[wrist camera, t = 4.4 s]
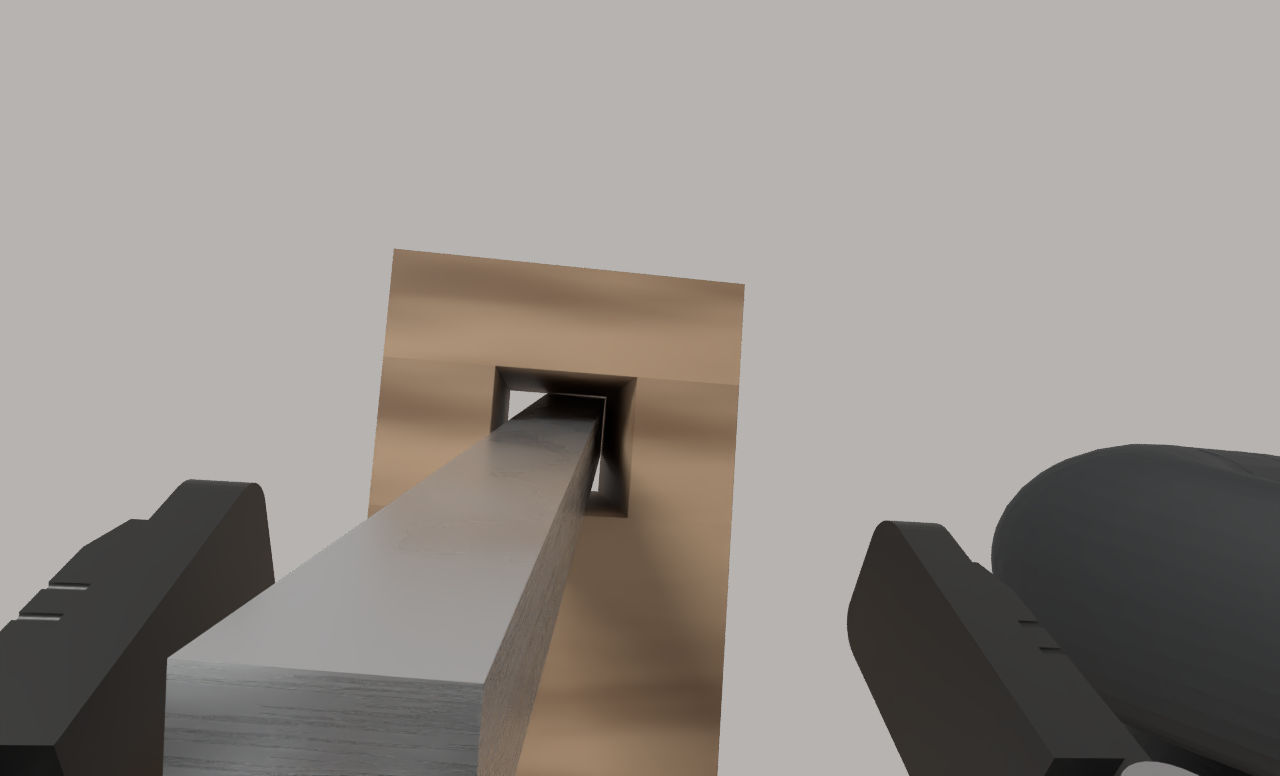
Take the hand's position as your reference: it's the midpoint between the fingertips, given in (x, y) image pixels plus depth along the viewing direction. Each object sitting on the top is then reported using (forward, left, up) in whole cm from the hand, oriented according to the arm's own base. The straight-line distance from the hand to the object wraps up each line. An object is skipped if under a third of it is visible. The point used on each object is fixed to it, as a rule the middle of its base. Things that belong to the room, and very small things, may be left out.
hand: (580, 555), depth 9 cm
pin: (-4, -8, -1) cm, 9 cm away
